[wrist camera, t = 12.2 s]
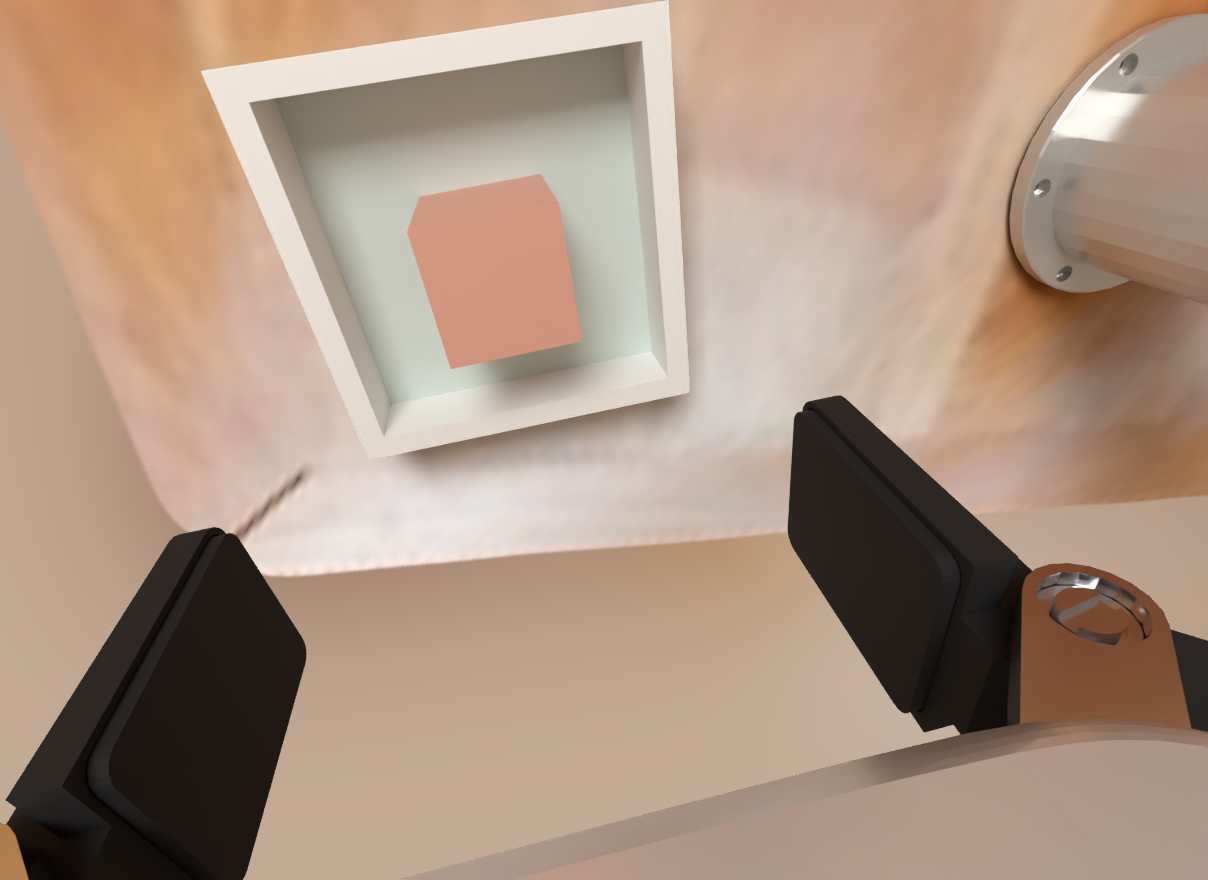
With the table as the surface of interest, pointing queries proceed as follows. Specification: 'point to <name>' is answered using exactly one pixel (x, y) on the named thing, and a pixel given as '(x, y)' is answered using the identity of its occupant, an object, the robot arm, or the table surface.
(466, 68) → the tray
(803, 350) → the table surface
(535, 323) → the pink block
